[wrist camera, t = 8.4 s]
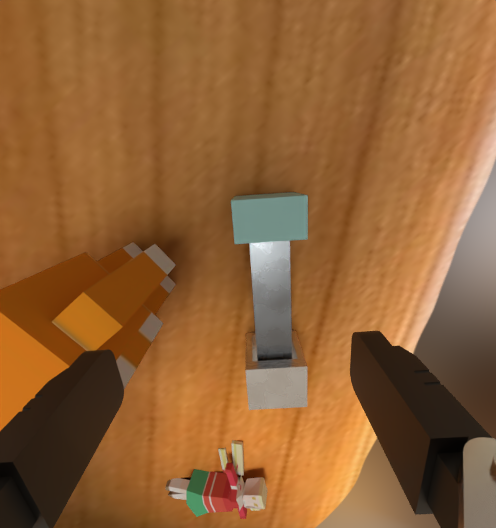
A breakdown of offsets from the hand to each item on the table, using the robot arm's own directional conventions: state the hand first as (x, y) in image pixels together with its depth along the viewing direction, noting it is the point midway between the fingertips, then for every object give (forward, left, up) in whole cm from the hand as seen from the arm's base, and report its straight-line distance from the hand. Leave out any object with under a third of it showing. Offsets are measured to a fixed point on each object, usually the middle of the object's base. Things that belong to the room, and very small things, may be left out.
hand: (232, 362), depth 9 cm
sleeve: (+8, +12, -20) cm, 25 cm away
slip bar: (+2, +6, -19) cm, 20 cm away
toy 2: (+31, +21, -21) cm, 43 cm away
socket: (-4, 0, -20) cm, 20 cm away
